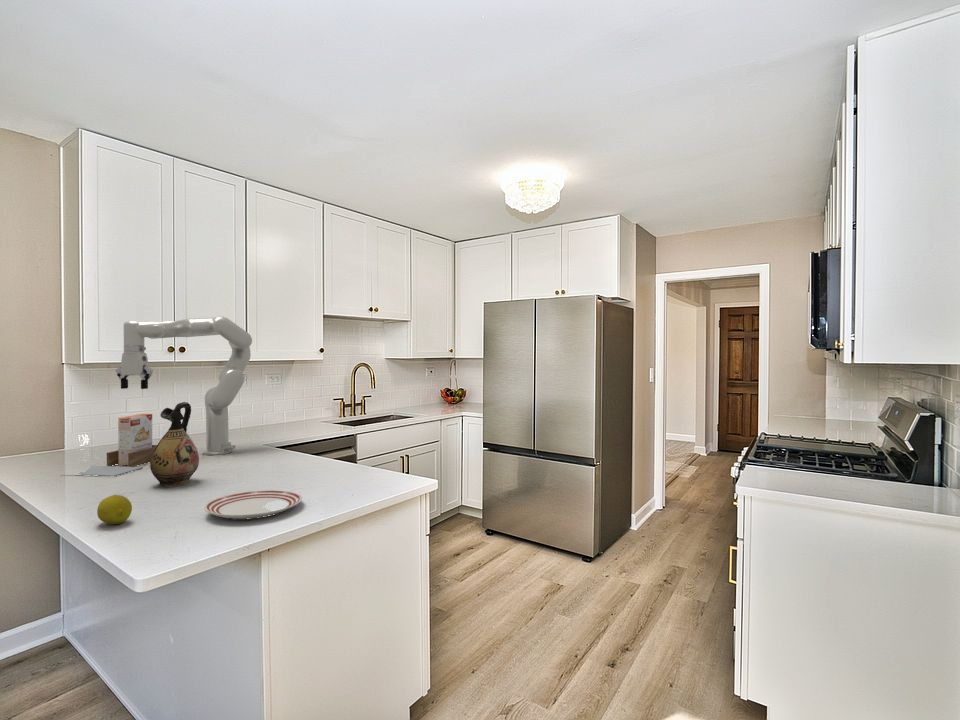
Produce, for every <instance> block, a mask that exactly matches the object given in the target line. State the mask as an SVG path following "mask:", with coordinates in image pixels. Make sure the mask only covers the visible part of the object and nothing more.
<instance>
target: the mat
mask: <svg viewBox="0 0 960 720" xmlns="http://www.w3.org/2000/svg"><path fill="white" fill-rule="evenodd" d="M90 466H91V467H90V469H88V470H86V472H80V473H79V474H81V475H98V476H116V477H118V476H117V475H120V476H122V475H121V474H123V475H125V474H124V473H126V474H129V473H128V472H130V473H132V472H131V471H133V472H136V471H135V470H137V471H139V469H140V470H143V469H144V468H143V466H142V467H141V466H135V467H128V466H119V465H115V466H107V465H90ZM142 468H143V469H142ZM98 476H97V477H98Z"/></svg>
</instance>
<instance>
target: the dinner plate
mask: <svg viewBox="0 0 960 720" xmlns="http://www.w3.org/2000/svg"><path fill="white" fill-rule="evenodd" d="M275 500H282V501H285V502H287V503H288V505H287V506H286V507H285V508H283V509H280V510H276V511H270V509H269V510H268V509H266V508H265V507H264V506H265V505H266V504H267V503H268V502H271V501H275ZM302 500H303V496H302V495H301V494H300V493H297V492H294V491H289V490H280V489H260V490H259V489H258V490H248V491H240V492H235V493H229V494H226V495H223V496H220V497H216V498H213V499H211V500H209V501H208V502H207V503H205V504H204V506H203V508H204V511H205V512H207V513H208V514H210V515H212V516H216V517H220V518H225V519H229V518H233V519H232V520H236V519H247V518H257V517H263V516H268V515H272V516H274V515H273V514H275V515H277V514H276V513H278V514H280V513H282V512H284V511H287V510H289V509H291V508H293V507H295V506H296V505H298V504H300V503H301V501H302ZM263 505H264V506H263ZM262 507H264V508H262ZM279 512H280V513H279ZM247 520H248V519H247Z"/></svg>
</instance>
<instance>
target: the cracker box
mask: <svg viewBox="0 0 960 720" xmlns="http://www.w3.org/2000/svg"><path fill="white" fill-rule="evenodd" d="M117 422H118V423H117V425H118V437H117V438H118V445H117V446H118V463H119V464H118V465H117V466H119V465H127V466H126V467H128V453H132V452H136V451H140V450H144V449H148V448H152V445H153V413H138V414H131V415H126V416H120V417H118V421H117Z"/></svg>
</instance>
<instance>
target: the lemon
mask: <svg viewBox="0 0 960 720" xmlns="http://www.w3.org/2000/svg"><path fill="white" fill-rule="evenodd" d="M96 509H97V511H96V514H97V518H98V519H99V520H100V521H101V522H102V523H105V524H107V525H119V524H122V523H124V522H126V521H127V520H128V519H129V517H131V514H132V510H133V505H132V502H131V501H130V500H129V499H128V497H126V496H124V495H120V494H113V495H112V494H111V495H109V496H107V497H105V498H103V499H102V500H101V501H100V502H99V504H98V506H97V508H96Z"/></svg>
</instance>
